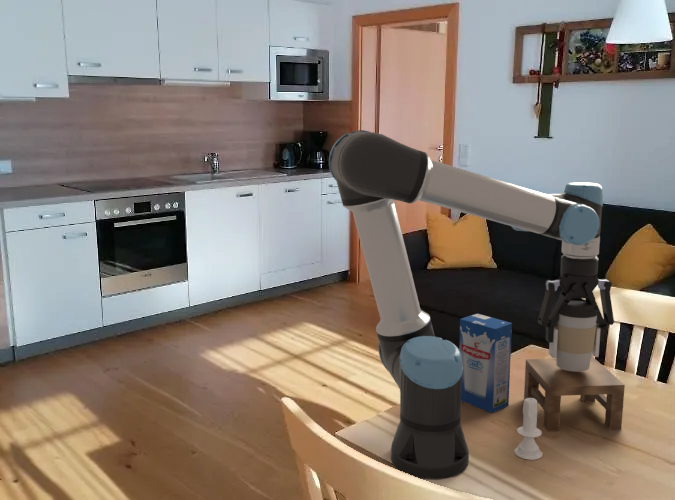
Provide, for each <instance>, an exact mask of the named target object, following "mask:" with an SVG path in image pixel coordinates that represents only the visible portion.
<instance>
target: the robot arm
mask: <svg viewBox="0 0 675 500" xmlns="http://www.w3.org/2000/svg"><path fill="white" fill-rule="evenodd" d="M328 157H329V158H328V167H329V171H330V174H331V175H332V178H333V179H334V180H335V181H336V184H337V187H338V188H337V189H338V192H339V196H340V200H341V203H342V206H343V207H344V208H345V209H347V210H348V211H350V212H351V213H352V215H353V218H354V219H353V220H354V223H355V228H356V230H357V234H358V238H359V242H360V246H361V250H362V254H363V258H364V262H365V265H366V268H367V272H368V276H369V279H370V283H371V284H370V285H371V287H372V291H373V296H374V298H375V303H376V306H377V310H378V315H379V319H380V320H379V321H378V323H377V325H376V328H375V331H376V334H377V335H376V336H377V340H378V355H379V358H380V361H381V363H382V365H383V367H384V368H385V369H386V370H387V372H388V373H389V374H390V376H391V377H392V379H393V381H394V383H395V384H396V385H397V386H398V389H399V394H400V395H399V398H400V400H399V402H400V405H399V408H400V409H399V413H400V414H399V422H398V426H397V428H396V431H395V434H394V437H393V440H392V443H391V447H390V460H391V463H392V464H393V465H394V466H395V468H397V470H399V471H400V472H402V471H404V472H406V473H409V474H411V475H410V476H412V475H414V476H413V477H415V476H417V477H416V478H420V479H426V480H427V479H428V480H438V479H446V478H450V477H455V476H457V475H460V473H462V472H464V471H465V470H466V469H467V467H468V466H469V461H470V459H469V457H470V454H469V453H470V452H469V451H470V450H469V446H468V444H467V441H466V438H465V434H464V430H463V428H462V424H461V417H462V416H461V415H462V412H461V411H462V401H461V387H462V373H463V366H462V357H461V353H460V351H459V348H458V346H457V345H456V344H454V343H453V342H452V341H450V340H447V339H443V338H442V337H439V336H435V333H434V329H433V324H432V321H431V320H432V319H431V315H430V314H429V313H428V312H425V311H424V310H422V309H421V307H420V301H419V299H418V293H417V290H416V286H415V282H414V281H415V280H414V278H413V272H412V270H411V266H410V261H409V257H408V253H407V249H406V244H405V241H404V237H403V233H402V229H401V225H400V220H399V216H398V212H397V209H396V204H395V201H397V202H398V201H399V202H402V203H407V204H410V205H411V204H414V203H416V202H418V201H419V202H420V201H421V202H424V203H428V204H432V205H435V206H439V207H443V208H445V209H450V210H453V211H456V212H460V213H463V214H468V215H470V216H473V217H474V216H475V217H478V218H482V219H485V220H488V221H492V222H496V223H499V224H503V225H507V226H510V227H511V228H512V230H514V231H521V232H526V233H527V232H532V233H535V234H538V235H539V234H540V235H542V236H545V237H548V238H552V239H556V240H559V241H561V253H562V254H563V255H561V257H560V275H559V277H558V278H557V279H555V280H550V279H547V280H545V283H544V284H545V285H544V286H545V292H544V296H543V299H542V300H543V301H542V302H541V303H542V304H541V306H540V307H541V308H540V311H539V313H538V319H537V322H538V324H540V325H541V327H545V340H546V341H547V343H548V344H549V345H548V347H549V348H548V354H549V355H550V356H551V358H552V359H556V358H557V342H558V329H557V328H556V327H555V326H556V324H557V322H558V321H559V314H558V313H559V312H560V311H559V310H560V309H562V308H563V306H564V305H565V304H568V303H569V302H570V301H571V299H572V298H579V297H580V298H582V299H584V300H586V301H587V302H588V303H589V304H594V307H595V308H598V315H597V319H596V332H595V339H594V345H593V351H592V353H591V356H592V355H593V357H594V358H599V355H600V345H601V343H600V342H604V338H605V330H606V329H607V328H608V326H610V325H611V326H612V325H614V324H615V319H614V312H613V305H612V298H611V288H612V282H611V281H610V280H608V279H606V278H602V279H599V278H598V271H599V270H598V269H599V257H598V255H599V254H600V243H601V225H602V214H603V206H604V204H603V199H604V198H603V197H604V195H603V194H604V193H603V187H602V185H601V184H599V183H595V182H585V181H584V182H583V181H582V182H580V181H579V182H568V183H567V184H565V186H564V187H565V188H564V190H563V191H564V192H560V193H545V192H544V193H543V192H540V191H538V190H533V189H530V188H528V187H527V188H526V187H523V186H520V185H516V184H514V183H510V182H507V181H503V180H501V179H496V178H493V177H489V176H486V175H483V174H479V173H478V172H477V173H476V172H472V171H470V170H466V169H463V168H459V167H456V166H453V165H449V164H445V163H442V162H440V161H436V160H433V159H431V157H430V156H429V154H428V153H427V152H425V151H422V150H419V149H416V148H413V147H410V146H408V145H406V144H404V143H400V142H399V141H397V140H395V139H393V138H390V137H388V136H387V135H385V134H383V133H379V132H374V131H373V132H372V131H370V130H365V129H363V130H362V129H359V130H353V131H350V132H348V133H345V134H344V135H342V136H341V137H339V138H338V139H337V140H335V143H334V144H333V145H332V147H331V150H330V152H329V156H328ZM559 287H560V288H561V291H560V293H559V295H558V296H559V297H558V299H557V301H556V303H555V304H554V307H553V303H554V299H555V296H556V295H555V294H556V291H557V290H558V288H559ZM597 287H598V289H599V294H600V301H601V309H600V308H599V306H598V303H597V301H596V297H595V295H594V290H595V289H596V288H597ZM552 307H553V308H552ZM551 310H552V311H551ZM601 310H602V313H601ZM404 472H403V473H404ZM406 473H405V474H406ZM409 474H408V475H409Z"/></svg>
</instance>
